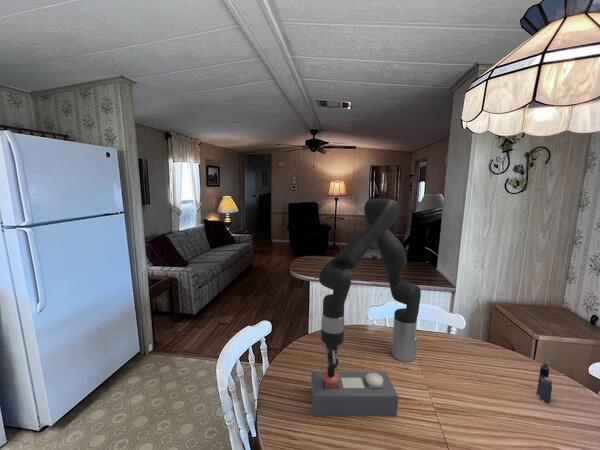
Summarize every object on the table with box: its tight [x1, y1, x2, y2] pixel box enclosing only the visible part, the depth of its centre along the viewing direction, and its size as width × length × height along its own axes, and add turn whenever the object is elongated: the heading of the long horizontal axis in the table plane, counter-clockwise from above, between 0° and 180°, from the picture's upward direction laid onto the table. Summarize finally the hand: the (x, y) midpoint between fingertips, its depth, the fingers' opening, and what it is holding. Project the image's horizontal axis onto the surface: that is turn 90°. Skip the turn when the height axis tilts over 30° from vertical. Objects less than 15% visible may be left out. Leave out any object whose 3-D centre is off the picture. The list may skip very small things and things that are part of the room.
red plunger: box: [322, 370, 339, 388], centre depth 95 cm, size 6×6×8 cm
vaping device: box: [536, 363, 553, 403], centre depth 99 cm, size 3×5×12 cm, turn 161°
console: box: [310, 371, 399, 417], centre depth 95 cm, size 27×12×7 cm, turn 92°
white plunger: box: [366, 373, 383, 389], centre depth 95 cm, size 6×6×8 cm
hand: (330, 375), depth 94 cm, fingers closed
